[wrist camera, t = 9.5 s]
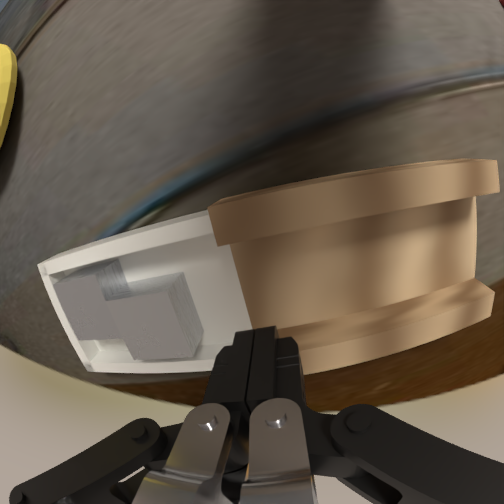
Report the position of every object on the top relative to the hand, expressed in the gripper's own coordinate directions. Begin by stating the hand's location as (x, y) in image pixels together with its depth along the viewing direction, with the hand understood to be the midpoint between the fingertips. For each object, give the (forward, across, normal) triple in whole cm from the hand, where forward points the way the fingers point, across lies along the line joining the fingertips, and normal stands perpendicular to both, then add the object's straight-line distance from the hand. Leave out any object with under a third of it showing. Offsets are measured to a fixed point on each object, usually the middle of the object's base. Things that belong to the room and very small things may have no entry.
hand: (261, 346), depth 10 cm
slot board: (+8, -7, +1) cm, 11 cm away
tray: (+8, +9, 0) cm, 12 cm away
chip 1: (+7, +12, -1) cm, 14 cm away
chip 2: (+7, +7, +1) cm, 10 cm away
